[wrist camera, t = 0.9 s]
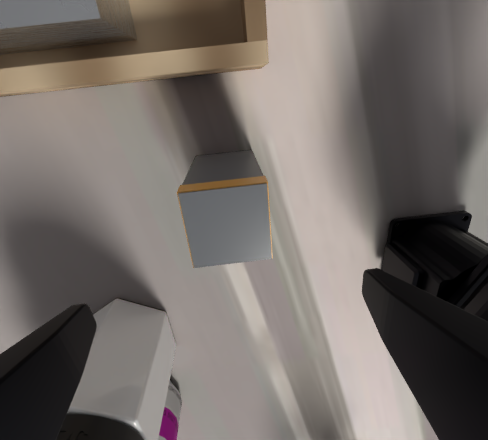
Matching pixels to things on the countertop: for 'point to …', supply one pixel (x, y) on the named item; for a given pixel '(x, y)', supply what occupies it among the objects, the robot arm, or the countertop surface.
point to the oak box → (150, 48)
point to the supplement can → (171, 414)
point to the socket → (63, 24)
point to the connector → (226, 209)
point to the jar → (123, 376)
